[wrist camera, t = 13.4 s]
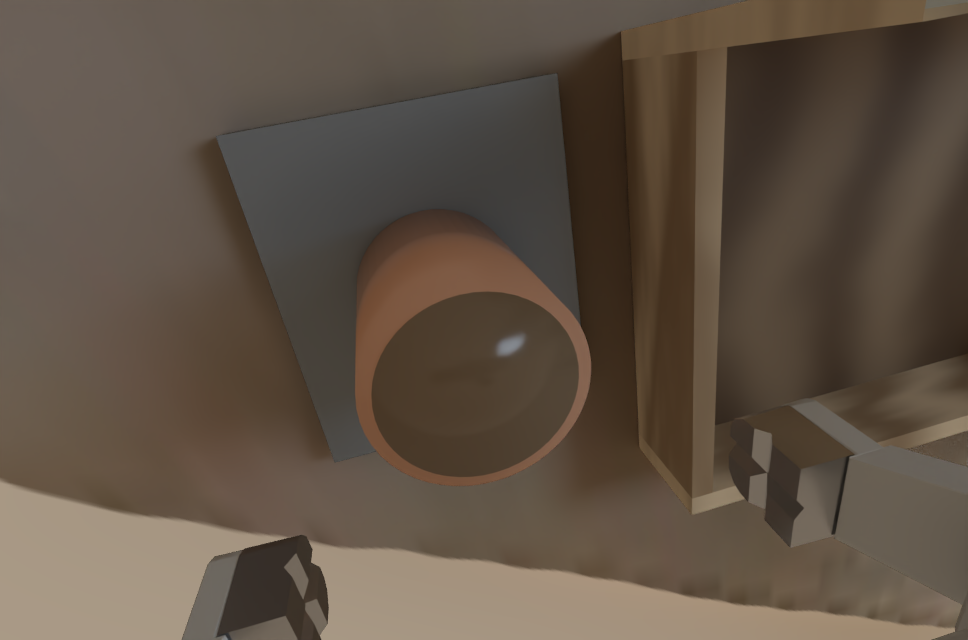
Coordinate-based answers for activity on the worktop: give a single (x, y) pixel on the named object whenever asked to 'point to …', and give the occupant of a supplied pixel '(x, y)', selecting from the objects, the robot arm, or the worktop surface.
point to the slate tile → (396, 209)
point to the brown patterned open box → (797, 224)
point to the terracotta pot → (462, 353)
